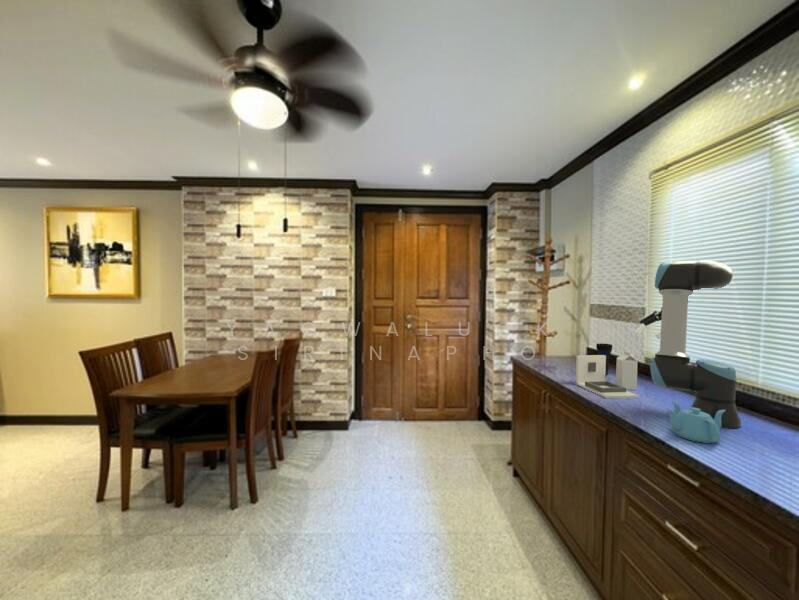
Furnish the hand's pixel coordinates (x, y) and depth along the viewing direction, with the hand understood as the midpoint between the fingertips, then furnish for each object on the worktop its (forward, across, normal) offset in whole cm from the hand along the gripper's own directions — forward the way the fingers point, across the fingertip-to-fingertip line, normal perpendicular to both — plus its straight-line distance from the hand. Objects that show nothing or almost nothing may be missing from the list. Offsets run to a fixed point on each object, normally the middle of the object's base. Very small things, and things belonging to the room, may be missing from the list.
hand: (646, 335), depth 184 cm
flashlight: (+26, +19, -13) cm, 35 cm away
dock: (+38, -5, -1) cm, 38 cm away
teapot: (+43, -59, +4) cm, 73 cm away
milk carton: (+28, -1, -12) cm, 30 cm away
